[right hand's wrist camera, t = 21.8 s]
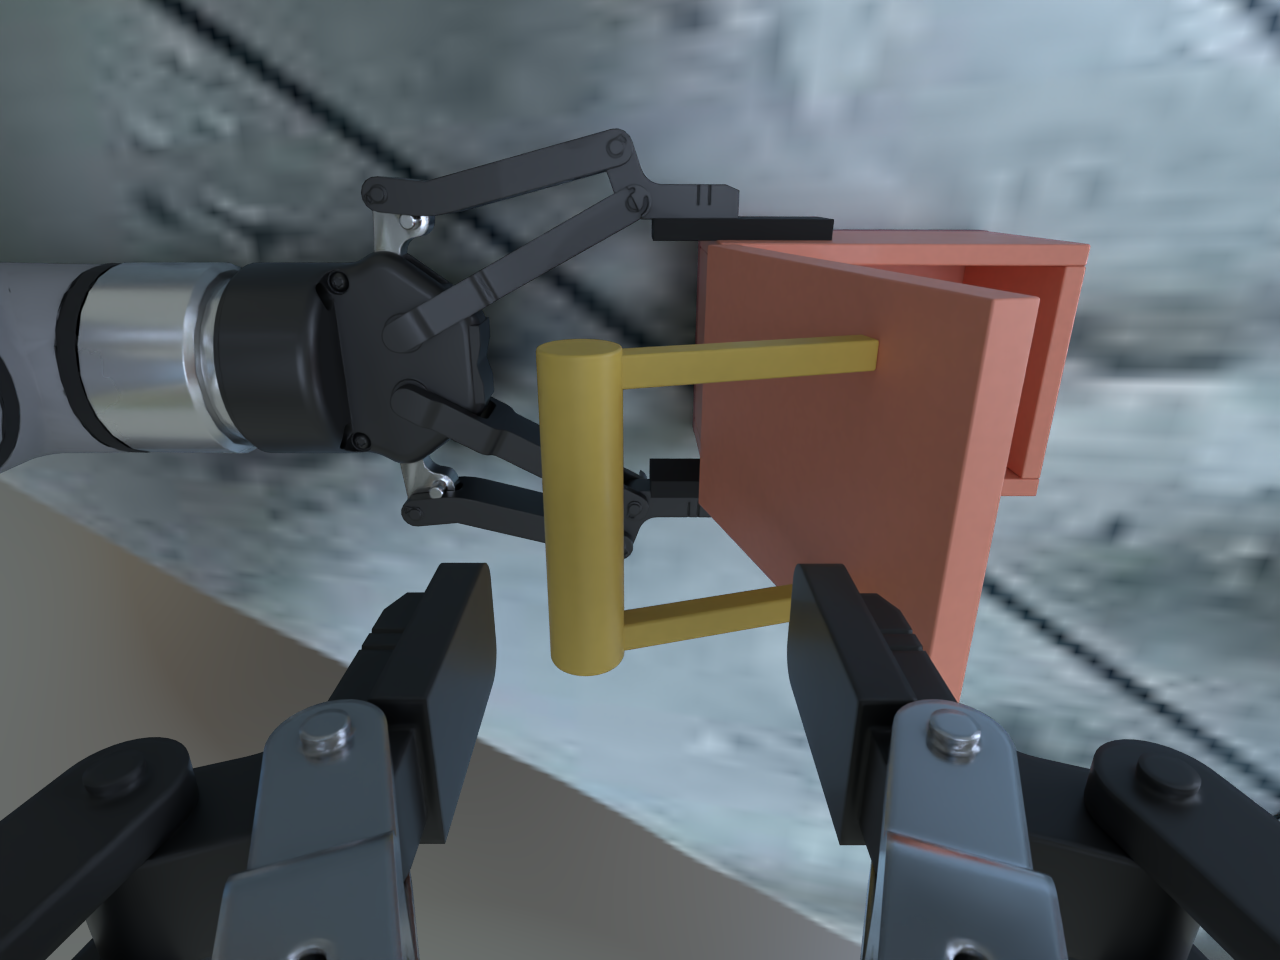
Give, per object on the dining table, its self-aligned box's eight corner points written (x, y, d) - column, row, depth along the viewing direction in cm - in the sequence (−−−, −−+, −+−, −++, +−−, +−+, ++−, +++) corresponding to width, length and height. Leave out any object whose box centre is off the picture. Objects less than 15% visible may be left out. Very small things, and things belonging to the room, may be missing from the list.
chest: (979, 230, 34) (1092, 244, 25) (947, 427, 37) (1036, 496, 29) (698, 229, 34) (719, 242, 25) (692, 427, 37) (708, 496, 29)
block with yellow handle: (1041, 297, 13) (571, 319, 11) (955, 726, 17) (586, 812, 14) (735, 244, 25) (481, 248, 23) (723, 500, 28) (501, 527, 26)
